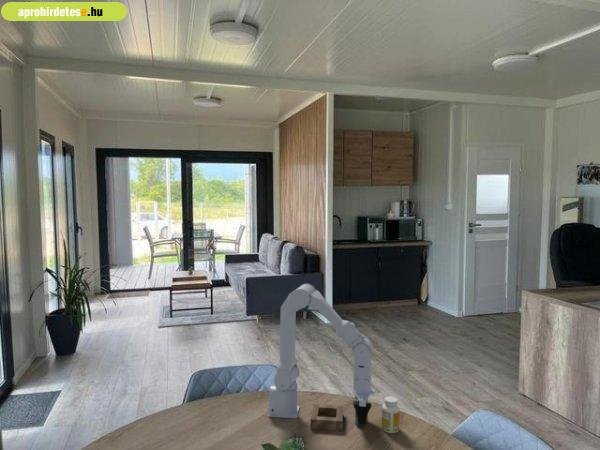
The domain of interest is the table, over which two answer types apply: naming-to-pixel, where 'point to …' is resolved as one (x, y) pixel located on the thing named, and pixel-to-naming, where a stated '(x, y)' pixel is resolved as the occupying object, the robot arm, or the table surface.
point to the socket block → (327, 417)
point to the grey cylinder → (357, 419)
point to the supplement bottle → (390, 415)
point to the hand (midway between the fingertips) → (361, 417)
